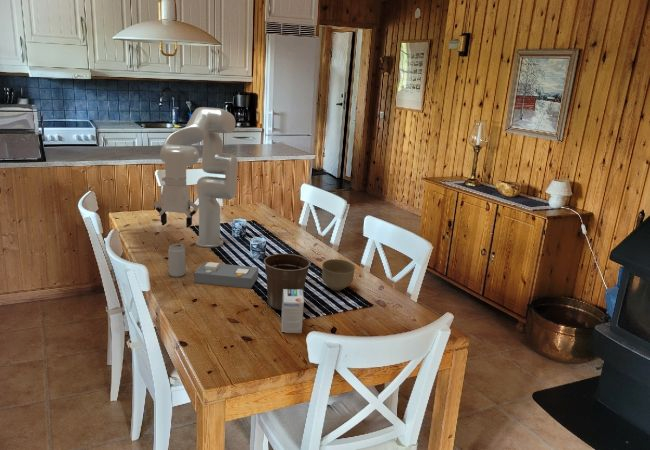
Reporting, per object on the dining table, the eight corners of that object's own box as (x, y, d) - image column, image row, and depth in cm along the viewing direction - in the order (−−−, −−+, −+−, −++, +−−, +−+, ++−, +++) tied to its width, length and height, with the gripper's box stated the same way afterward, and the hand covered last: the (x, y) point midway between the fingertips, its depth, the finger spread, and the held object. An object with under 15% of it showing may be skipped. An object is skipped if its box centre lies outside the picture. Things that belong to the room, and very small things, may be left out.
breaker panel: (204, 271, 212) (204, 260, 211) (258, 276, 210) (258, 266, 209) (194, 282, 201) (194, 271, 199) (250, 288, 199) (251, 277, 198)
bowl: (325, 296, 196) (327, 271, 193) (317, 283, 208) (318, 259, 205) (357, 294, 200) (359, 270, 197) (347, 281, 211) (349, 258, 209)
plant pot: (316, 303, 190) (319, 261, 186) (289, 318, 177) (291, 273, 173) (281, 290, 199) (283, 250, 194) (252, 304, 186) (254, 261, 181)
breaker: (208, 269, 208) (208, 262, 207) (219, 270, 207) (219, 263, 206) (204, 273, 203) (204, 265, 203) (215, 274, 203) (215, 267, 202)
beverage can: (189, 273, 209) (188, 245, 206) (178, 278, 203) (177, 249, 200) (176, 270, 211) (175, 242, 208) (165, 275, 206) (164, 246, 202)
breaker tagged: (238, 276, 207) (238, 268, 206) (248, 277, 207) (249, 269, 206) (234, 280, 203) (235, 272, 202) (246, 281, 202) (246, 273, 202)
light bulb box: (281, 318, 177) (282, 288, 174) (301, 318, 178) (302, 288, 175) (281, 333, 167) (282, 302, 164) (302, 333, 168) (304, 302, 165)
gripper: (149, 181, 194) (150, 226, 199) (194, 185, 193) (195, 230, 197) (157, 177, 201) (158, 221, 206) (201, 181, 200) (201, 225, 204)
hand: (176, 225), depth 202 cm, fingers open, 9 cm apart
